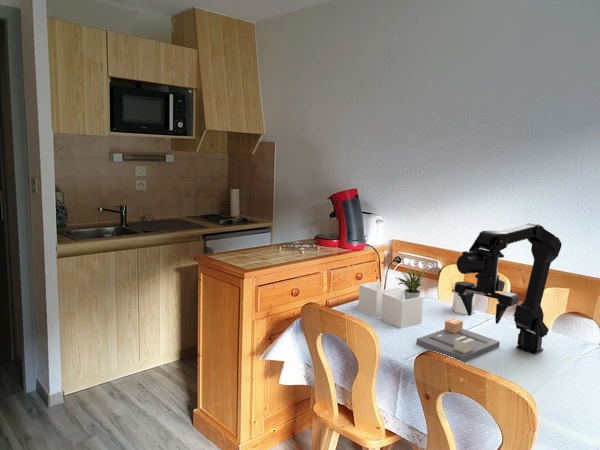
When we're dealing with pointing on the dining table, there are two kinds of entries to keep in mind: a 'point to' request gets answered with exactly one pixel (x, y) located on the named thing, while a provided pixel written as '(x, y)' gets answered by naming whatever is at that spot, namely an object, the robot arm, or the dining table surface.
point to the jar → (459, 305)
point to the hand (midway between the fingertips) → (483, 319)
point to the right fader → (453, 325)
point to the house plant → (411, 285)
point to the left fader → (464, 344)
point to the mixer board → (445, 344)
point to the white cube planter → (390, 305)
